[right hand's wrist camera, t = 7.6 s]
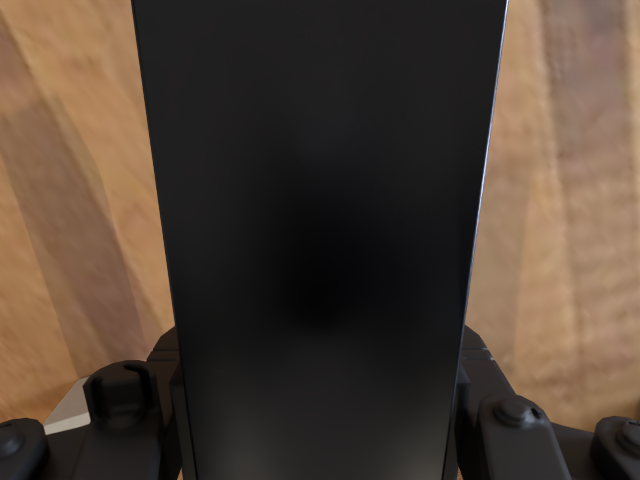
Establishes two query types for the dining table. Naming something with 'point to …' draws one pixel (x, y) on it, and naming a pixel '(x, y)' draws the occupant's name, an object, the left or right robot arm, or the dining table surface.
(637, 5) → the dining table surface
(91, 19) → the dining table surface
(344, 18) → the bar
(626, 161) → the dining table surface
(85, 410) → the cream block
